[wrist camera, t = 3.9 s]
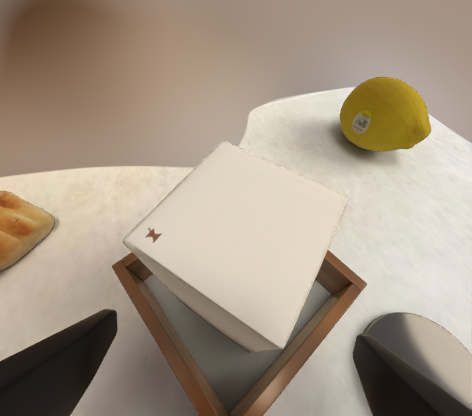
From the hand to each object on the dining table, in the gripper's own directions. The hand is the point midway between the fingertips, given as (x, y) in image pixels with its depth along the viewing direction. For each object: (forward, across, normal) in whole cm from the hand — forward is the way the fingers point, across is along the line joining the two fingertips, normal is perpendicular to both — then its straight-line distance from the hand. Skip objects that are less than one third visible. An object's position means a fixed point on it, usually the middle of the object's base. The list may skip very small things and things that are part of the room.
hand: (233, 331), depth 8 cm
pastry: (+13, +23, +4) cm, 26 cm away
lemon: (+26, -16, -10) cm, 32 cm away
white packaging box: (+11, 0, +5) cm, 12 cm away
